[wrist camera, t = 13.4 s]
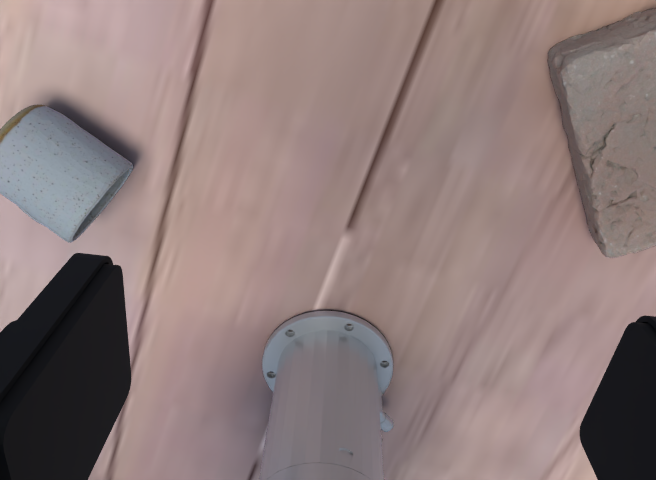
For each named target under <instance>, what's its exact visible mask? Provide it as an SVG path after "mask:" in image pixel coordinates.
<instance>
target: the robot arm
mask: <svg viewBox="0 0 656 480" xmlns="http://www.w3.org/2000/svg"><path fill="white" fill-rule="evenodd" d="M262 370H263V375H264V378H265V380H266V382H267V385H268V386H269V388H270V389H271V390H272V392H273V398H272V404H271V410H270V416H269V422H268V428H267V434H266V440H265V446H264V453H263V459H262V465H261V471H260V477H259V480H384V471H383V456H382V440H383V439H382V436H381V429H382V430H383V431H384V432H388V431H390V430H391V429H392V427H393V425H394V422H393V420H392V419H391V418H390V417H389V416H388V415H387V414H386V413H384V412H383V409H382V394H383V393H384V392H385V391H386V389H387V387H388V386H389V384H390V381H391V378H392V375H393V359H392V353H391V350H390V347H389V344H388V343H387V341H386V339H385V338H384V336H383V335H382V334H381V333H380V332H379V331H378V330H377V329H376V328H375V327H374V326H372V325H371V324H369V323H368V322H367V321H365V320H363V319H361V318H359V317H356V316H354V315H350V314H347V313H343V312H336V311H315V312H310V313H304V314H302V315H299V316H296V317H293V318H292V319H290V320H288V321H286V322H285V323H283V324H282V325H281V326H280V327H278V328H277V329H276V330H275V331H274V332H273V334H272V335H271V336H270V338H269V339H268V341H267V344H266V346H265V349H264V354H263V358H262ZM130 385H131V368H130V356H129V344H128V332H127V321H126V309H125V297H124V285H123V274H122V269H121V267H120V266H119V265H113V262H112V260H111V258H110V257H109V256H101V255H92V254H83V253H75V254H74V255H73V256H72V257H71V258H70V259H69V260H68V262H67V263H66V264H65V265H64V266H63V267H62V268H61V270H60V271H59V272H58V273H57V274H56V275H55V277H54V278H53V279H52V280H51V281H50V282H49V284H48V285H47V286H46V287H45V288H44V289H43V291H42V292H41V293H40V294H39V295H38V296H37V298H36V299H35V300H34V301H33V302H32V303H31V304H30V306H29V307H28V308H27V309H26V310H25V311H24V313H23V314H22V315H21V316H20V317H19V318H18V320H16V321H13V322H11V323H10V324H8V325H7V326H6V327H5V328H4V329H3V330H2V331H1V333H0V480H88V478H89V475H90V473H91V471H92V469H93V467H94V465H95V463H96V461H97V459H98V457H99V455H100V453H101V450H102V448H103V446H104V444H105V442H106V440H107V438H108V436H109V434H110V432H111V430H112V428H113V425H114V423H115V421H116V419H117V417H118V415H119V413H120V411H121V409H122V407H123V405H124V402H125V400H126V398H127V396H128V393H129V390H130ZM580 440H581V443H582V446H583V448H584V450H585V453H586V455H587V457H588V459H589V461H590V463H591V466H592V468H593V470H594V472H595V474H596V477H597V479H598V480H656V317H653V316H642V317H640V318H639V319H638V320H637V321H636V322H633V323H630V324H629V325H628V326H627V328H626V329H625V331H624V334H623V336H622V338H621V340H620V342H619V344H618V346H617V348H616V351H615V353H614V355H613V357H612V359H611V361H610V363H609V365H608V368H607V370H606V372H605V374H604V376H603V378H602V380H601V382H600V385H599V387H598V389H597V391H596V393H595V395H594V397H593V399H592V402H591V404H590V406H589V408H588V410H587V412H586V414H585V416H584V419H583V421H582V423H581V426H580Z"/></svg>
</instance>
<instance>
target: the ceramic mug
mask: <svg viewBox="0 0 656 480" xmlns="http://www.w3.org/2000/svg"><path fill="white" fill-rule="evenodd" d="M132 169H133V164H132V163H131V162H130V161H128V160H127V159H125V158H124V157H122V156H121V155H120V154H118V153H117V152H115V151H114V150H112V149H111V148H109V147H108V146H106V145H105V144H104V143H102V142H101V141H100V140H98V139H97V138H95V137H94V136H92V135H91V134H90V133H88V132H87V131H85V130H84V129H82V128H81V127H80V126H78V125H77V124H76V123H74V122H73V121H72V120H70V119H69V118H67V117H66V116H64V115H63V114H61V113H59V112H57V111H55V110H53V109H52V108H49V107H47V106H45V105H33V106H29V107H27V108H25V109H23V110H21V111H20V112H18V113H17V114H16V115H15V116H13V117H12V118H11V119H10V120H9V121H8V122H7V123H6V124H5V125H4V126H3V127H2V128H1V129H0V193H1V194H2V195H3V196H5V197H6V198H7V199H9V200H10V201H12V202H13V203H15V204H16V205H18V207H19V208H20V209H21V210H22V211H23V212H24V213H26V214H27V215H28V216H29V217H31V218H32V219H33V220H35V221H36V222H38V223H40V224H42V225H44V226H45V227H47V228H49V229H50V230H51V231H53V232H54V233H55V234H57V235H58V236H59V237H61V238H62V239H64V240H65V241H67V242H72V241H74V240H76V239H77V238H78V237H79V236H80V235H81V234H82V233H83V232H84V231H85V230H86V229H87V228H88V226H89V225H90V224H91V223H92V222H93V221H94V220H95V219H96V217H97V216H98V215H99V214H100V213H101V212H102V211H103V209H104V208H105V207H106V206H107V205H108V203H109V202H110V201H111V200H112V198H113V197H114V195H115V194H116V193H117V192H118V191H119V189H120V188H121V187H122V185H123V184H124V182H125V181H126V180H127V178H128V176H129V175H130V173H131V171H132Z"/></svg>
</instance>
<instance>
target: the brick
mask: <svg viewBox="0 0 656 480" xmlns="http://www.w3.org/2000/svg"><path fill="white" fill-rule="evenodd" d="M548 56H549V58H548V64H549V68H550V76H551V80H552V83H553V86H554V90H555V93H556V95H557V98H558V100H559V101H560V104H561V111H562V122H563V127H564V130H565V132H566V134H567V136H568V142H569V150H570V153H571V157H572V162H573V166H574V169H575V175H576V179H577V184H578V186H579V190H580V194H581V198H582V202H583V206H584V209H585V213H586V216H587V224H588V226H589V231H590V233H591V235H592V237H593V239H594V241H595V242H596V244H597V245H598V247H599V249H600V250H601V252H602V254H604V255H605V256H606V257H610V258H614V257H619V256H623V255H626V254H629V253H637V252H639V251H642V250H645V249H648V248H651V247H654V246H656V8H655V9H649V10H646V11H644V12H636V13H633V14H631V15H630V16H628V17H627V18H624V19H623V20H622V21H617V22H616V23H615V24H612V25H609V26H607V27H602V28H601V29H598V30H596V31H590V32H588V33H585V34H580V35H576V36H572V37H570V38H568V39H566V40H565V41H562V42H560V43H557V44H556V45H555V46H554V47H552V48H551V49H550V51H549V53H548Z"/></svg>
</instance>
